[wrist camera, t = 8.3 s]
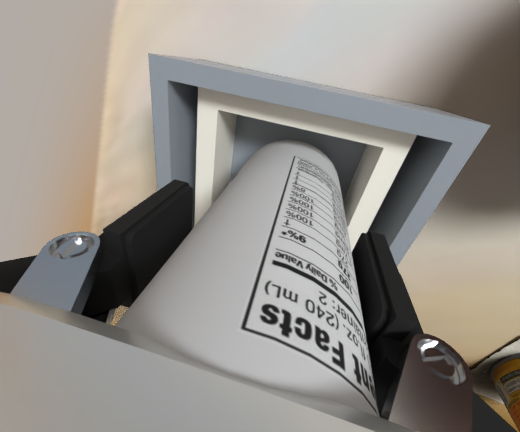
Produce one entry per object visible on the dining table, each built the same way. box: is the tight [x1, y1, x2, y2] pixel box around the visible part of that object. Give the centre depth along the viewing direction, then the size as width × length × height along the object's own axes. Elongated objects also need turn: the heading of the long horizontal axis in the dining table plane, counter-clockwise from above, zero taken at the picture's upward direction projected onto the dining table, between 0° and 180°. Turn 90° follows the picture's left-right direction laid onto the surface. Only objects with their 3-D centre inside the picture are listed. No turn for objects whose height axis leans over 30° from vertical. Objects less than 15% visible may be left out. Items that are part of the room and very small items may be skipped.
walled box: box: [148, 53, 491, 266], centre depth 15 cm, size 16×13×5 cm
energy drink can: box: [115, 140, 380, 417], centre depth 9 cm, size 6×6×15 cm
